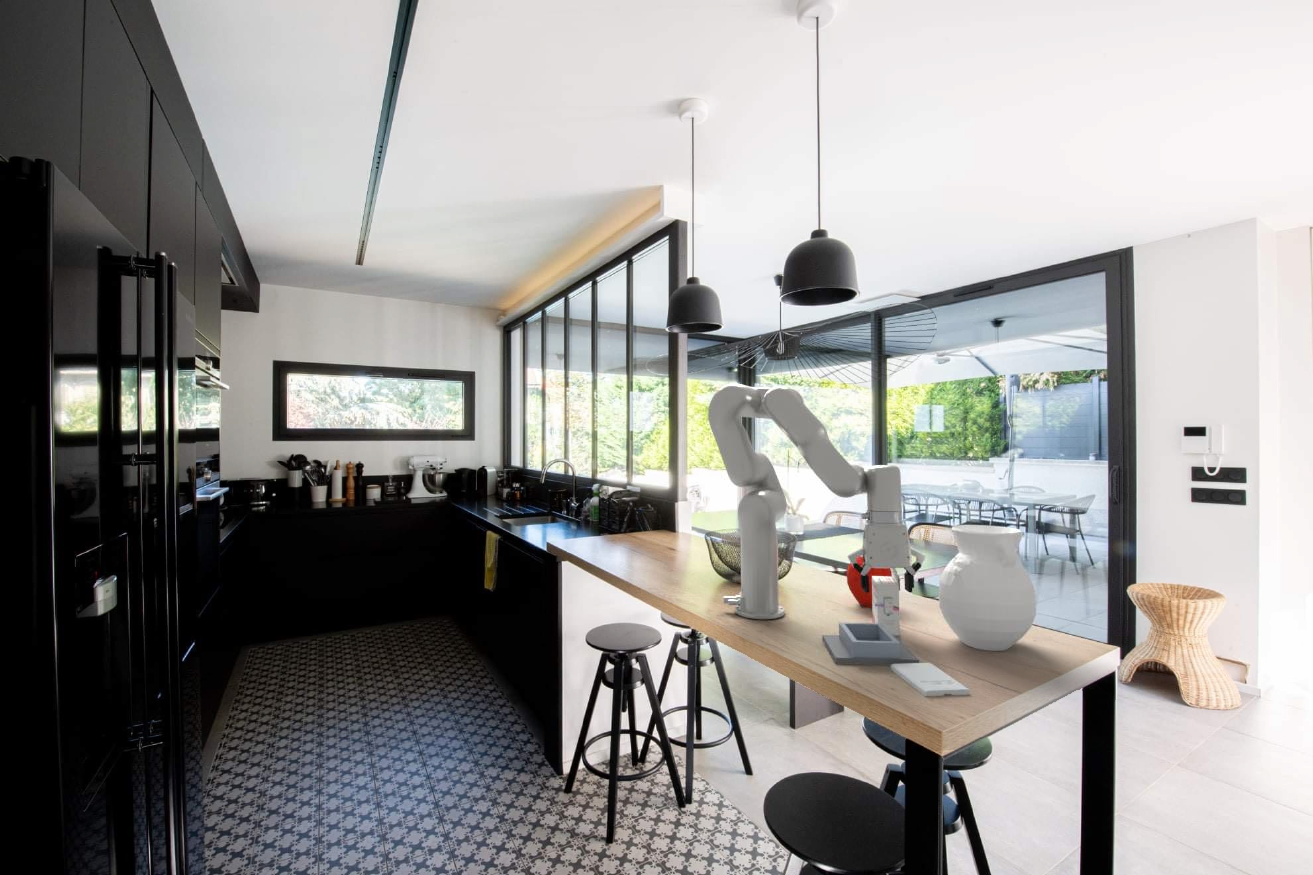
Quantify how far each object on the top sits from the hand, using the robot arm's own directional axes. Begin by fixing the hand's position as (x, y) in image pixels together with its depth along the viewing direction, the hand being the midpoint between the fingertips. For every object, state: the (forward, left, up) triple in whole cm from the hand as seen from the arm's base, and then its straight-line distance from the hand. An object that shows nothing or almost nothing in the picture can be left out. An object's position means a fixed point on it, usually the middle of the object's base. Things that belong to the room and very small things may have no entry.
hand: (887, 591), depth 138 cm
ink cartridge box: (0, 0, -9) cm, 9 cm away
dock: (-8, -15, -9) cm, 20 cm away
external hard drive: (-1, -30, -10) cm, 31 cm away
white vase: (+19, -8, -9) cm, 22 cm away
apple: (+2, +21, -9) cm, 23 cm away
